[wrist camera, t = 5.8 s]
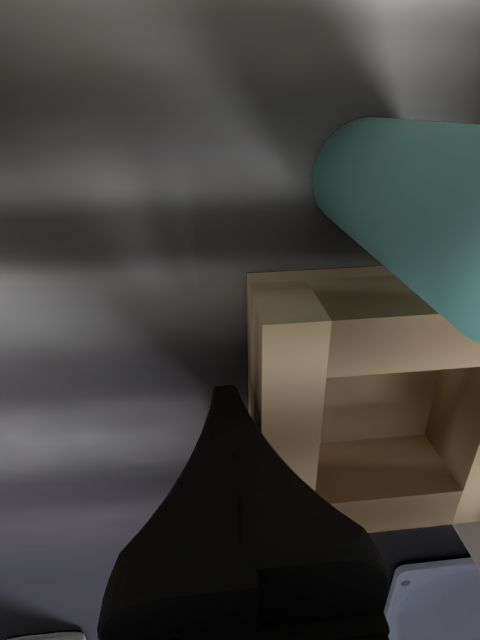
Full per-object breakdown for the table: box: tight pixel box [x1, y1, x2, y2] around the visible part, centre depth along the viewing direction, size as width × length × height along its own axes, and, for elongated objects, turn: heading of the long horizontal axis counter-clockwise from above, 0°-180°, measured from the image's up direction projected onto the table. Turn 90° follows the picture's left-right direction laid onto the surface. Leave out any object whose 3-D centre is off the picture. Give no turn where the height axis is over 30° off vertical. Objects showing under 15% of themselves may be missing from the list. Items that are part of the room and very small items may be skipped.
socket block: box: [247, 266, 480, 533], centre depth 14 cm, size 8×8×3 cm
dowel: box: [312, 117, 480, 343], centre depth 9 cm, size 3×3×7 cm
